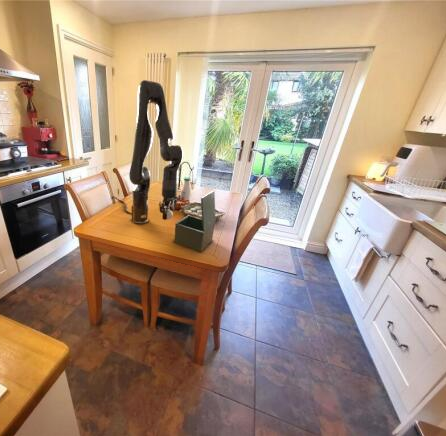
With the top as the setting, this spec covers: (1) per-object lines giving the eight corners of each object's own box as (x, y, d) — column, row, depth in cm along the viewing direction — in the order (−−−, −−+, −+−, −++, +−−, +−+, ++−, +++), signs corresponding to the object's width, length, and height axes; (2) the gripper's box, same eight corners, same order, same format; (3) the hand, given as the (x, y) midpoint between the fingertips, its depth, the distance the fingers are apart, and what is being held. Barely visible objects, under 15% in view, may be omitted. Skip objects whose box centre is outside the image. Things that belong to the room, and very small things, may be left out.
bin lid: (200, 198, 105) (202, 198, 105) (212, 190, 116) (214, 190, 115) (202, 231, 111) (204, 232, 110) (214, 221, 121) (215, 222, 121)
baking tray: (172, 213, 157) (173, 205, 155) (192, 205, 172) (192, 198, 170) (210, 228, 139) (212, 220, 137) (228, 217, 154) (230, 210, 151)
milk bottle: (189, 202, 176) (191, 176, 168) (190, 206, 169) (193, 179, 161) (179, 202, 176) (181, 176, 168) (180, 206, 169) (182, 179, 161)
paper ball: (160, 219, 123) (160, 209, 121) (166, 215, 127) (166, 206, 125) (168, 222, 121) (169, 212, 118) (174, 218, 125) (175, 209, 122)
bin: (174, 241, 123) (175, 223, 119) (186, 232, 134) (188, 214, 129) (200, 251, 116) (203, 232, 111) (212, 240, 126) (214, 222, 121)
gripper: (171, 182, 124) (169, 211, 131) (155, 188, 113) (153, 220, 120) (183, 185, 120) (180, 215, 127) (167, 192, 109) (165, 224, 116)
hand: (167, 217), depth 124 cm, fingers closed on paper ball, 5 cm apart
